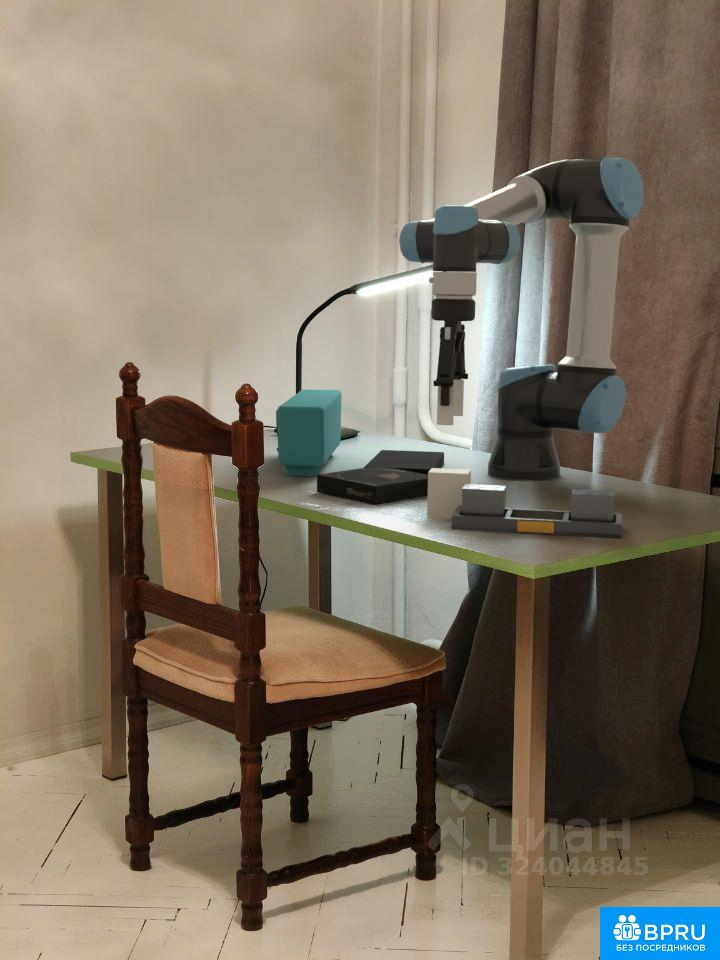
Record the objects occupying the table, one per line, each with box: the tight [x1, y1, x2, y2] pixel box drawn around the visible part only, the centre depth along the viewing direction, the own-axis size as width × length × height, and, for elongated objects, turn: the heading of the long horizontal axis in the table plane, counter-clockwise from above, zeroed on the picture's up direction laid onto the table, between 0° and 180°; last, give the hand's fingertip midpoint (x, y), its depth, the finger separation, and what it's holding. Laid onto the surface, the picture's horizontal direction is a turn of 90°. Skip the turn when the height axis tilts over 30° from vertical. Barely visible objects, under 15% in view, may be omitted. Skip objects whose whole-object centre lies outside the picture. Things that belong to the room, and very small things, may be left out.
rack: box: [451, 483, 623, 539], centre depth 207 cm, size 9×28×7 cm, turn 78°
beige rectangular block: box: [426, 467, 472, 519], centre depth 217 cm, size 4×7×8 cm, turn 78°
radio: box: [275, 389, 343, 476], centre depth 267 cm, size 34×10×15 cm, turn 174°
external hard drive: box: [363, 449, 445, 475], centre depth 262 cm, size 14×23×3 cm, turn 170°
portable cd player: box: [316, 466, 428, 506], centre depth 237 cm, size 16×17×4 cm
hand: (450, 420), depth 214 cm, fingers open, 13 cm apart
